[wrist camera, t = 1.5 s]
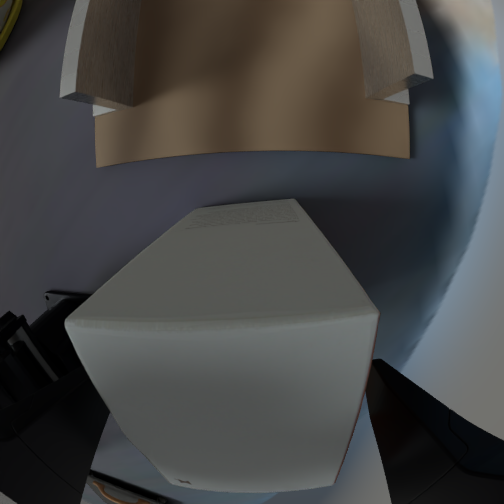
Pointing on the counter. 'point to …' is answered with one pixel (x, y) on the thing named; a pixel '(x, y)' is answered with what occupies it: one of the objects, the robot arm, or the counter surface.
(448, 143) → the counter surface
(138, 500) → the serving board
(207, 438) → the small box
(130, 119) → the shelf board
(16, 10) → the flowerpot
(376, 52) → the bookends
